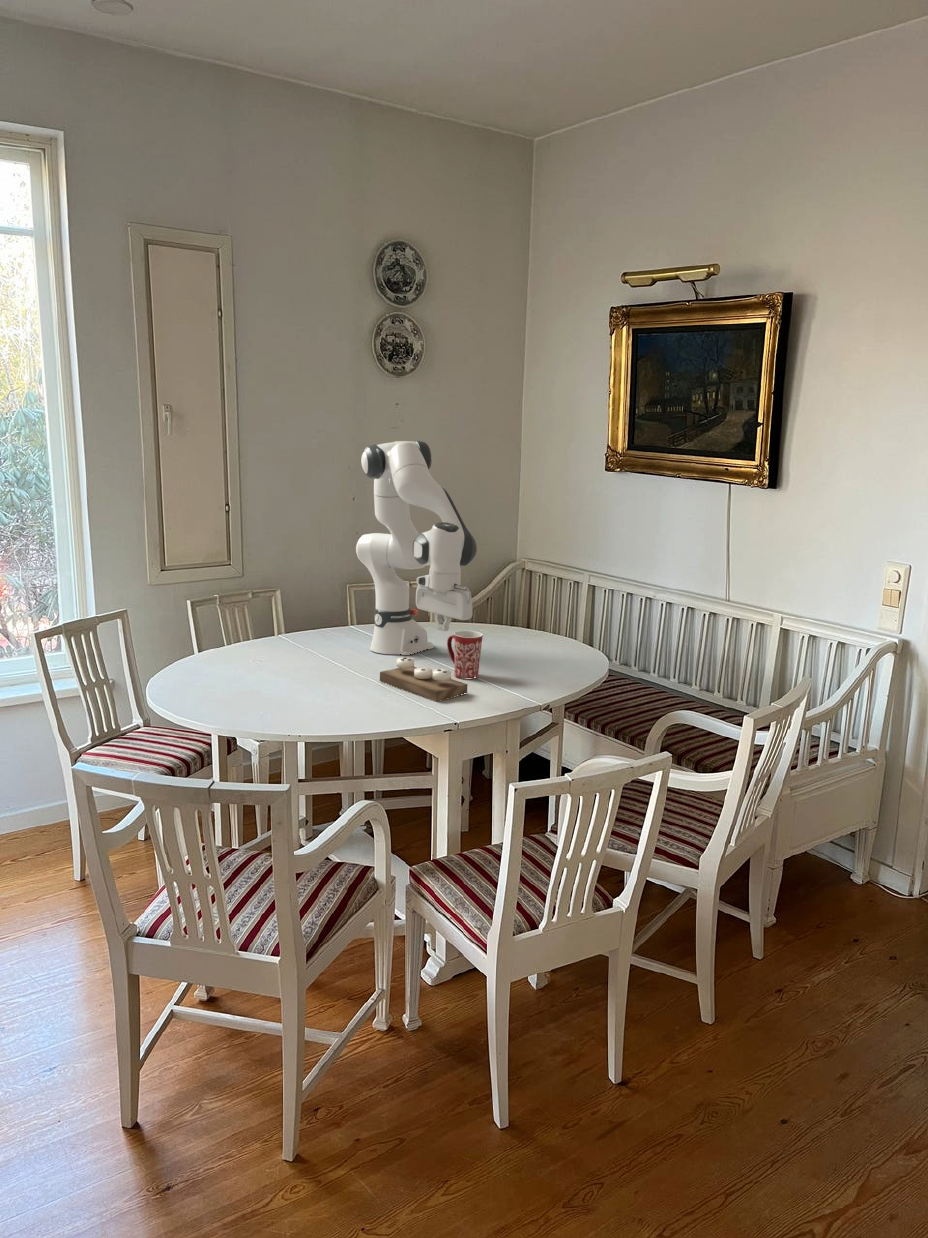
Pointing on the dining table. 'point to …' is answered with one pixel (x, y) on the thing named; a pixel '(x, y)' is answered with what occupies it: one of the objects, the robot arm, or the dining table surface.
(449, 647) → the mug
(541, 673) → the dining table surface
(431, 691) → the button board
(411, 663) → the button three
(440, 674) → the button two
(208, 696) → the dining table surface
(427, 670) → the button one
